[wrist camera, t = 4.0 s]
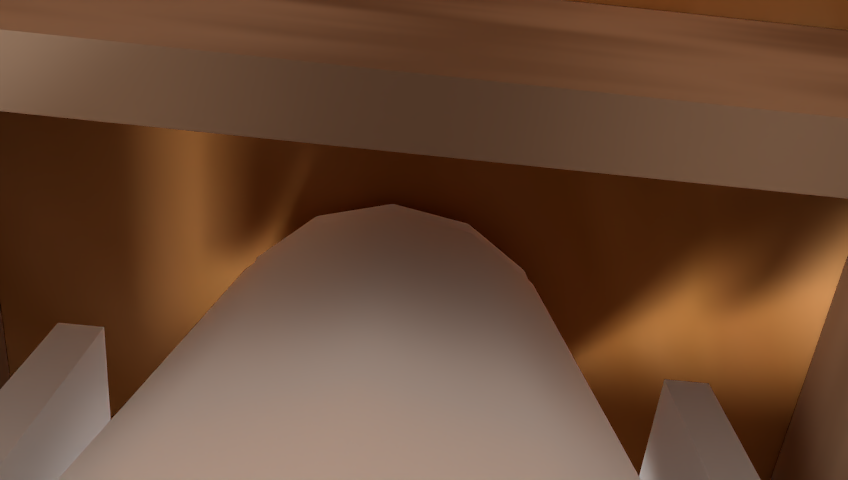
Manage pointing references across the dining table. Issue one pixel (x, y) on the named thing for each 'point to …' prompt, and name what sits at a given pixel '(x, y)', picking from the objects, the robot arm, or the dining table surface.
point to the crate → (476, 103)
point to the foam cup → (367, 370)
